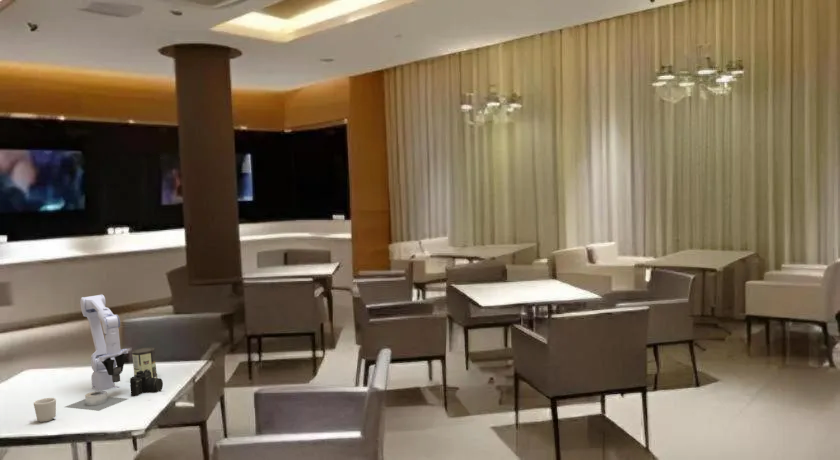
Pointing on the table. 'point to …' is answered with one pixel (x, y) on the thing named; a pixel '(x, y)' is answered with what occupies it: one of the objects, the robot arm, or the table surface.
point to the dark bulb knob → (116, 374)
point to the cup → (45, 409)
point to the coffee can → (144, 360)
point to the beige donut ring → (96, 398)
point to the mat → (109, 403)
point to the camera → (145, 383)
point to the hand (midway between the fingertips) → (115, 373)
